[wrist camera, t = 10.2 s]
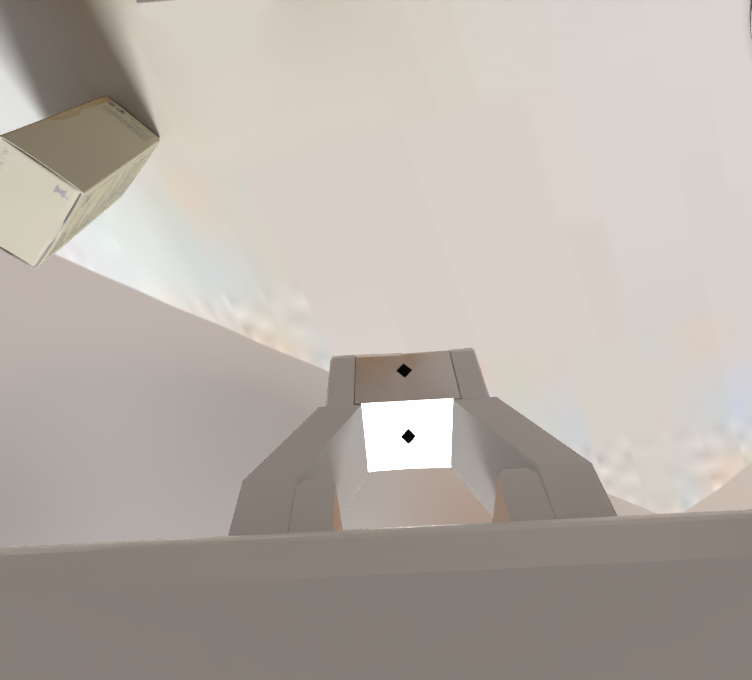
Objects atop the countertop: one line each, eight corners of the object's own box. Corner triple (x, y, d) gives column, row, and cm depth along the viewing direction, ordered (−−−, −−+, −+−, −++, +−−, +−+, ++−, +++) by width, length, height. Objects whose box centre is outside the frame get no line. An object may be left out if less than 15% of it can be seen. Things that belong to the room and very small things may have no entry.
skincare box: (106, 93, 33) (-4, 126, 23) (164, 140, 35) (87, 191, 25) (64, 162, 35) (-52, 220, 25) (121, 203, 37) (34, 273, 27)
